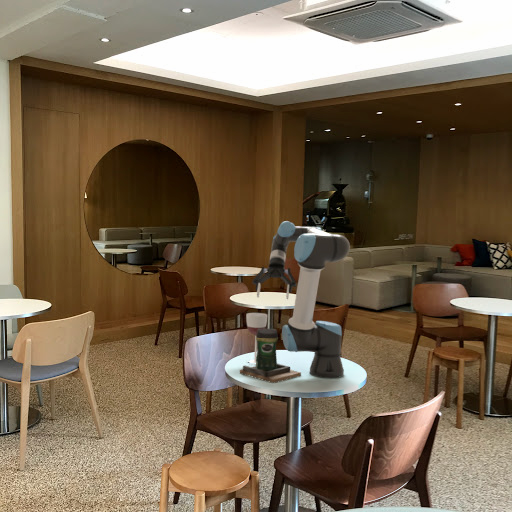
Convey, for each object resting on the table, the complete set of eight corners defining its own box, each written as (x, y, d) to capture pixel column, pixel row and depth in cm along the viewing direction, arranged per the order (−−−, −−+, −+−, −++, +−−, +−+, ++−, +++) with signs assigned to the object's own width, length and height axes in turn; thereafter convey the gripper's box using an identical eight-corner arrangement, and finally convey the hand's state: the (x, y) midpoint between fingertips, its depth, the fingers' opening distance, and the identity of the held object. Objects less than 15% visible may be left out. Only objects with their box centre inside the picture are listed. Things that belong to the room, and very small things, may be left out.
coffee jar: (276, 368, 254) (277, 327, 253) (277, 373, 246) (279, 330, 245) (254, 367, 253) (256, 326, 252) (255, 372, 245) (256, 330, 244)
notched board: (300, 375, 248) (301, 368, 248) (273, 383, 235) (273, 374, 235) (267, 366, 262) (267, 359, 262) (239, 373, 249) (240, 365, 249)
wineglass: (265, 364, 266) (267, 316, 265) (244, 363, 266) (246, 315, 265) (265, 360, 275) (267, 313, 274) (245, 359, 275) (246, 312, 274)
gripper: (303, 267, 274) (299, 303, 260) (252, 265, 277) (246, 299, 263) (303, 257, 268) (299, 293, 254) (251, 255, 272) (244, 290, 258)
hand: (272, 296), depth 259 cm, fingers open, 13 cm apart
